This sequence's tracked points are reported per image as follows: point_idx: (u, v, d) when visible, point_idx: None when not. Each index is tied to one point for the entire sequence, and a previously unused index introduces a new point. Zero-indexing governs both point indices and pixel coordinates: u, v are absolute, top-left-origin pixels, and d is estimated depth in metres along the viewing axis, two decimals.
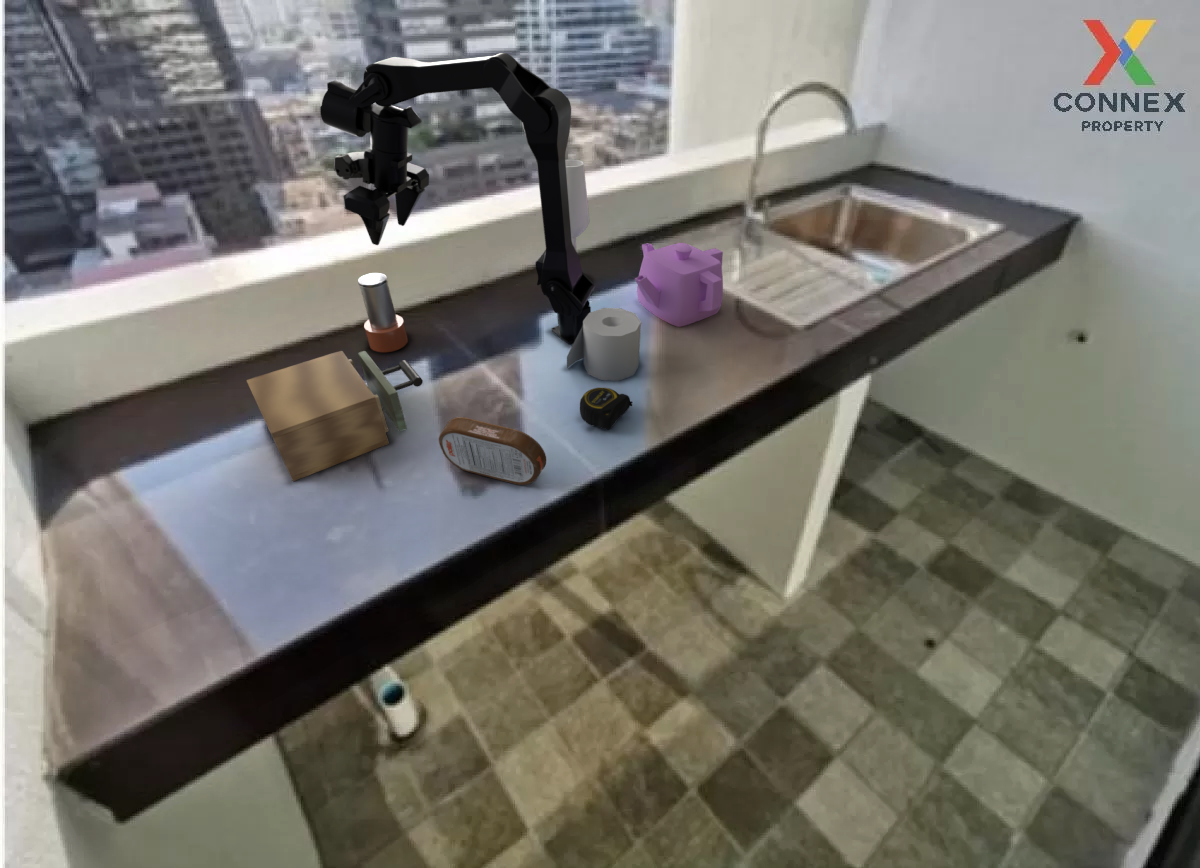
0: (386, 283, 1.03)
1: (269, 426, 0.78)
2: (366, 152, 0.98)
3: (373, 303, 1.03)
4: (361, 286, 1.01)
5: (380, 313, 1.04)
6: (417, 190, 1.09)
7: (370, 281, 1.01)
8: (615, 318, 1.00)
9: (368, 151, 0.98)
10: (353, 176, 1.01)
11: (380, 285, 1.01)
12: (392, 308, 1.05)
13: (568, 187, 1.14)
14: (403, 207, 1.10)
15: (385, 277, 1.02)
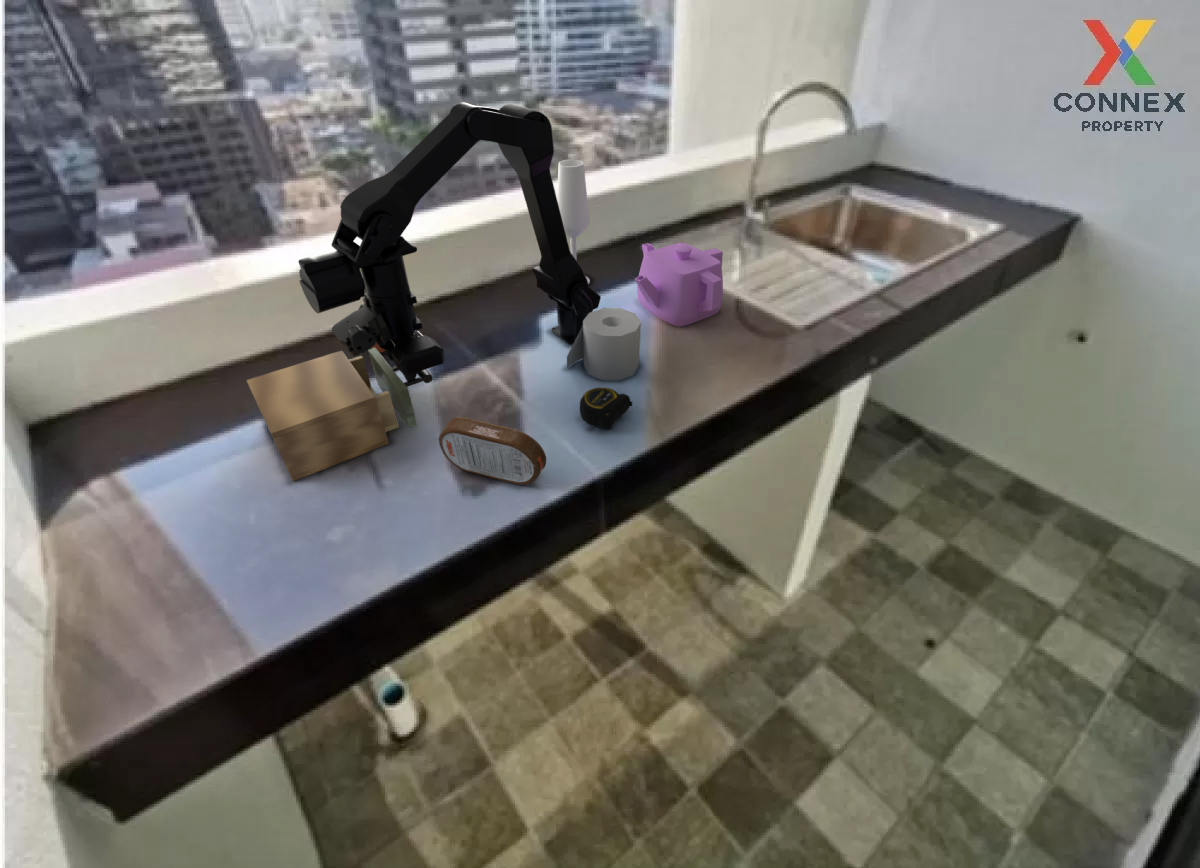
0: None
1: (269, 426, 0.78)
2: (377, 308, 0.82)
3: None
4: None
5: None
6: None
7: None
8: (615, 318, 1.00)
9: (378, 306, 0.82)
10: None
11: None
12: None
13: (568, 187, 1.14)
14: None
15: None
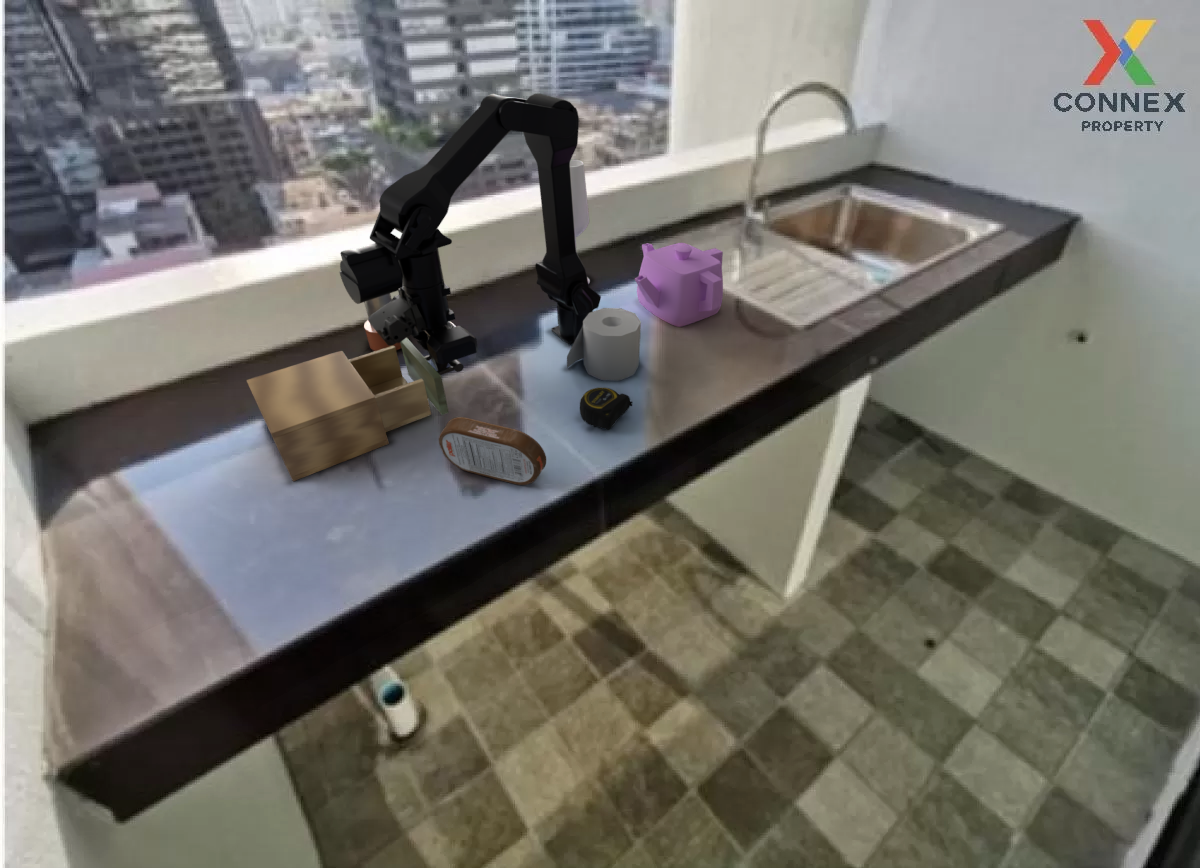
0: None
1: (269, 426, 0.78)
2: (413, 299, 0.84)
3: (373, 303, 1.03)
4: None
5: None
6: None
7: None
8: (615, 318, 1.00)
9: (414, 297, 0.84)
10: None
11: None
12: None
13: None
14: None
15: None
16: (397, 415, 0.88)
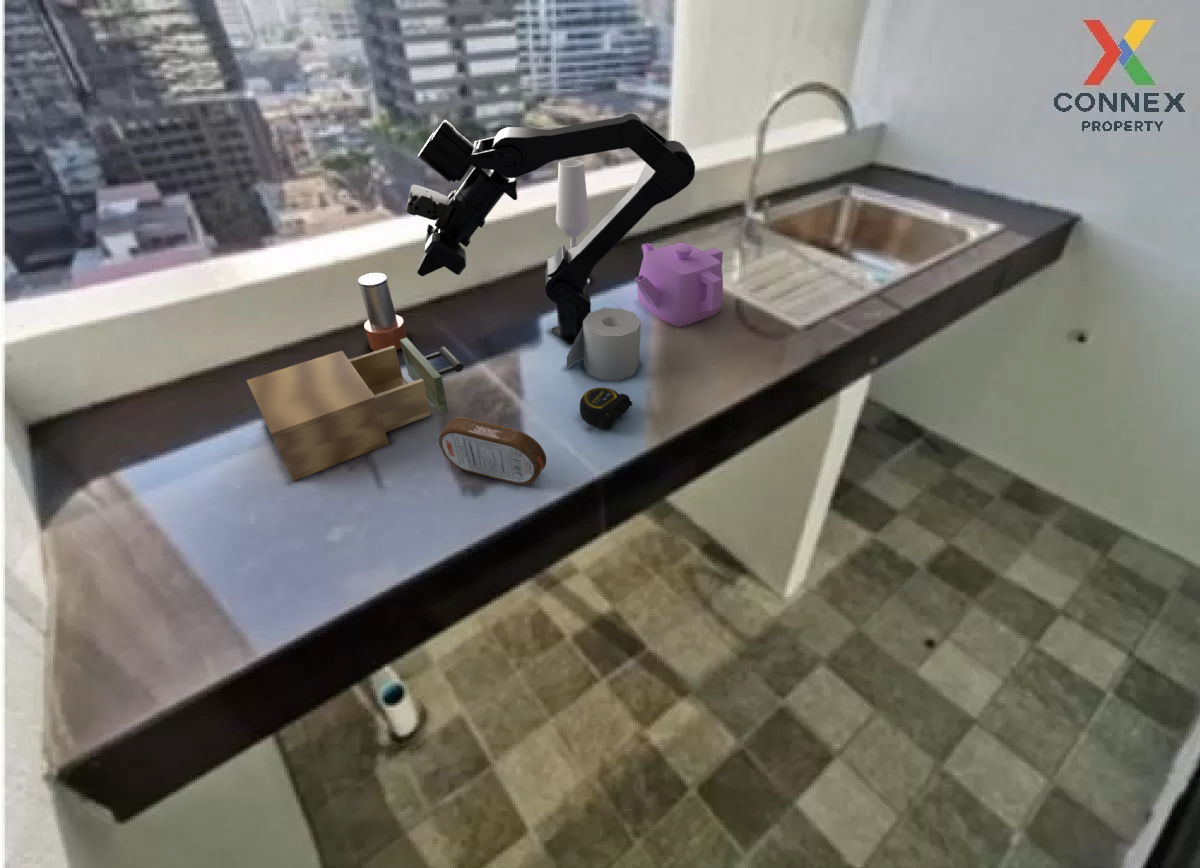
0: (386, 283, 1.03)
1: (269, 426, 0.78)
2: (454, 201, 0.93)
3: (373, 303, 1.03)
4: (361, 286, 1.01)
5: (380, 313, 1.04)
6: None
7: (370, 281, 1.01)
8: (615, 318, 1.00)
9: (456, 201, 0.93)
10: None
11: (380, 285, 1.01)
12: (392, 308, 1.05)
13: (568, 187, 1.14)
14: None
15: (385, 277, 1.02)
16: (397, 415, 0.88)
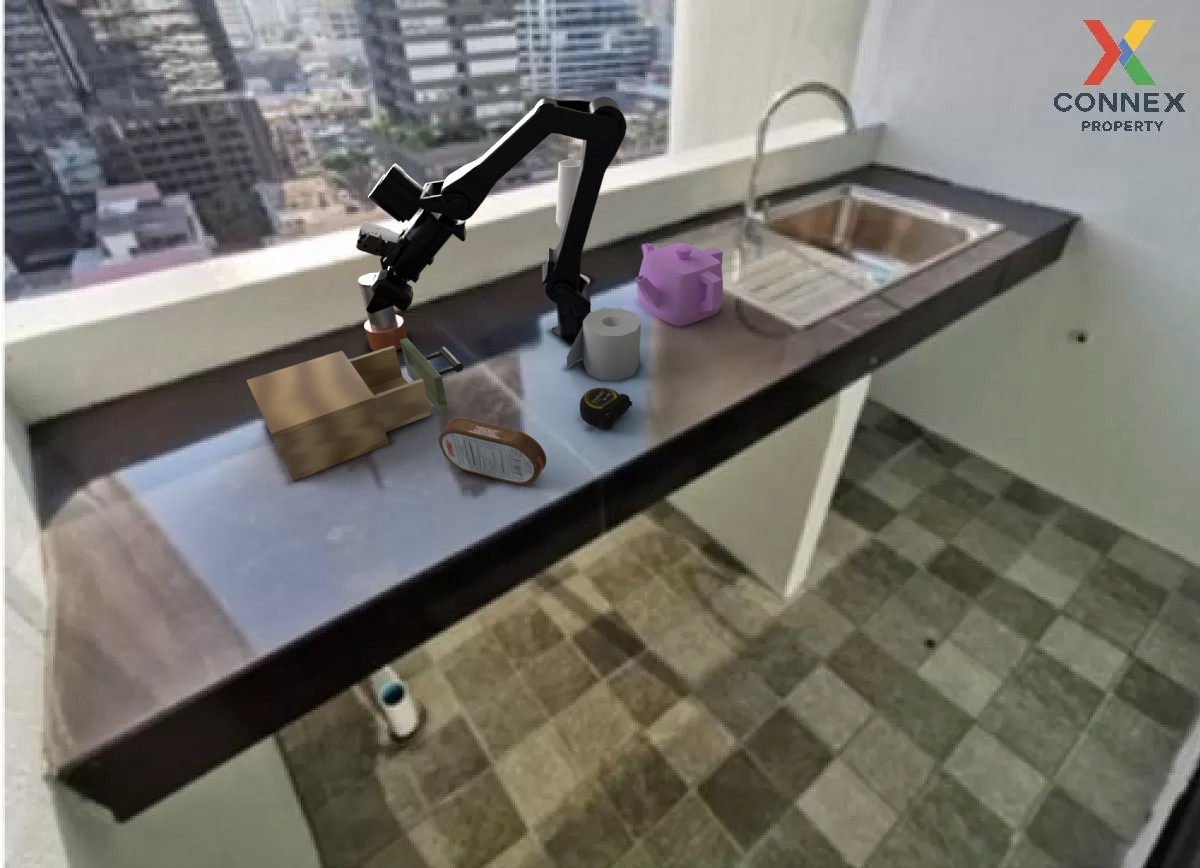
0: None
1: (269, 426, 0.78)
2: (403, 240, 0.96)
3: None
4: (361, 286, 1.01)
5: (380, 313, 1.04)
6: None
7: (370, 281, 1.01)
8: (615, 318, 1.00)
9: (405, 240, 0.96)
10: None
11: None
12: (392, 308, 1.05)
13: (568, 187, 1.14)
14: None
15: None
16: (397, 415, 0.88)
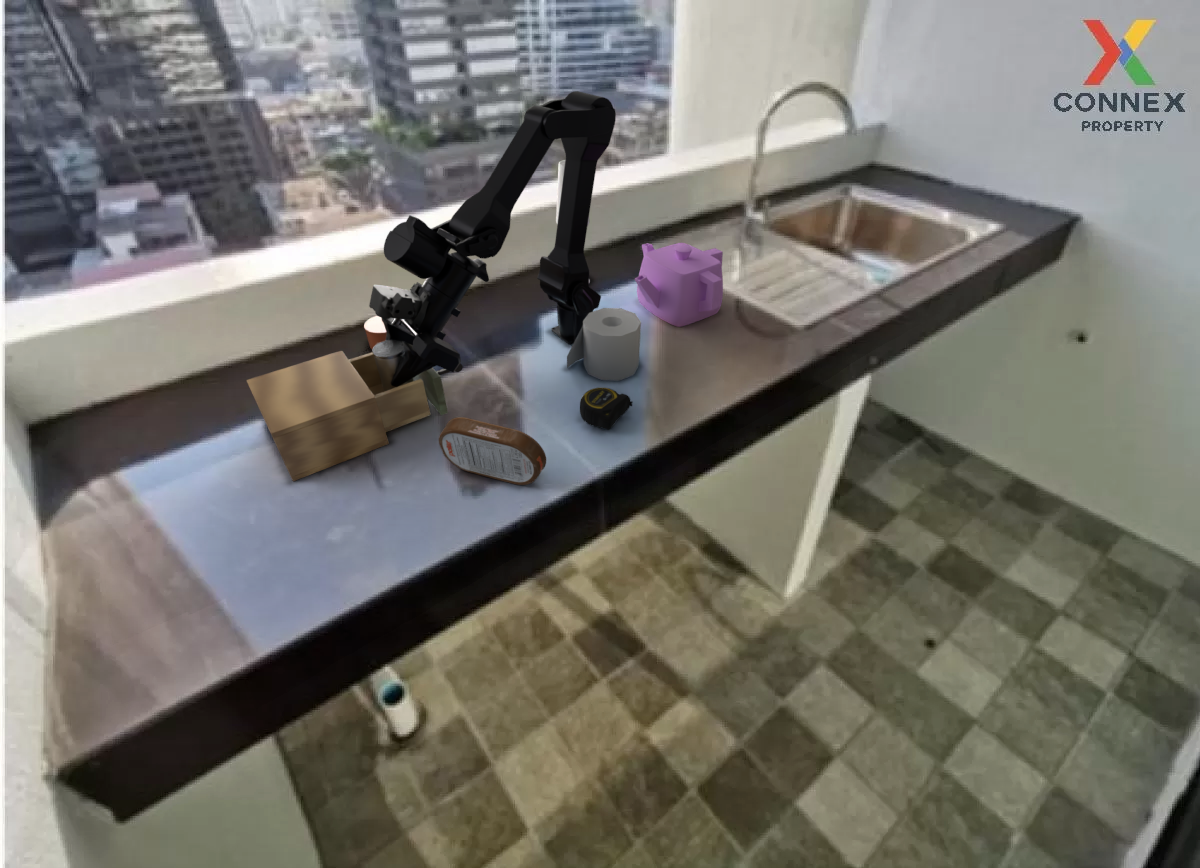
0: None
1: (269, 426, 0.78)
2: (430, 296, 0.85)
3: None
4: (382, 359, 0.87)
5: (405, 383, 0.91)
6: (414, 335, 0.94)
7: (390, 351, 0.88)
8: (615, 318, 1.00)
9: (432, 295, 0.86)
10: None
11: (403, 352, 0.88)
12: None
13: None
14: None
15: (402, 342, 0.90)
16: (396, 415, 0.88)
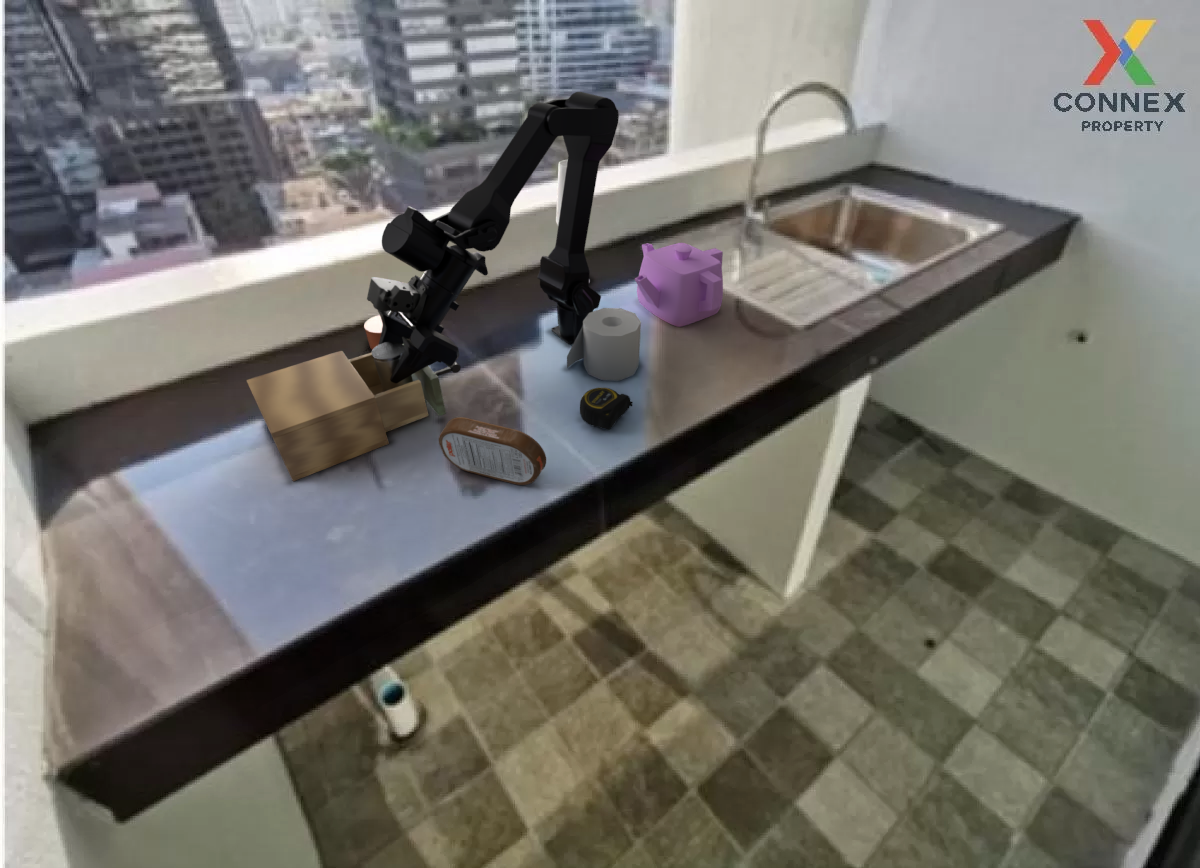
0: None
1: (269, 426, 0.78)
2: (429, 289, 0.85)
3: None
4: (381, 361, 0.87)
5: None
6: None
7: (389, 353, 0.88)
8: (615, 318, 1.00)
9: (430, 288, 0.85)
10: None
11: None
12: (411, 376, 0.93)
13: None
14: None
15: (401, 344, 0.90)
16: (394, 416, 0.88)
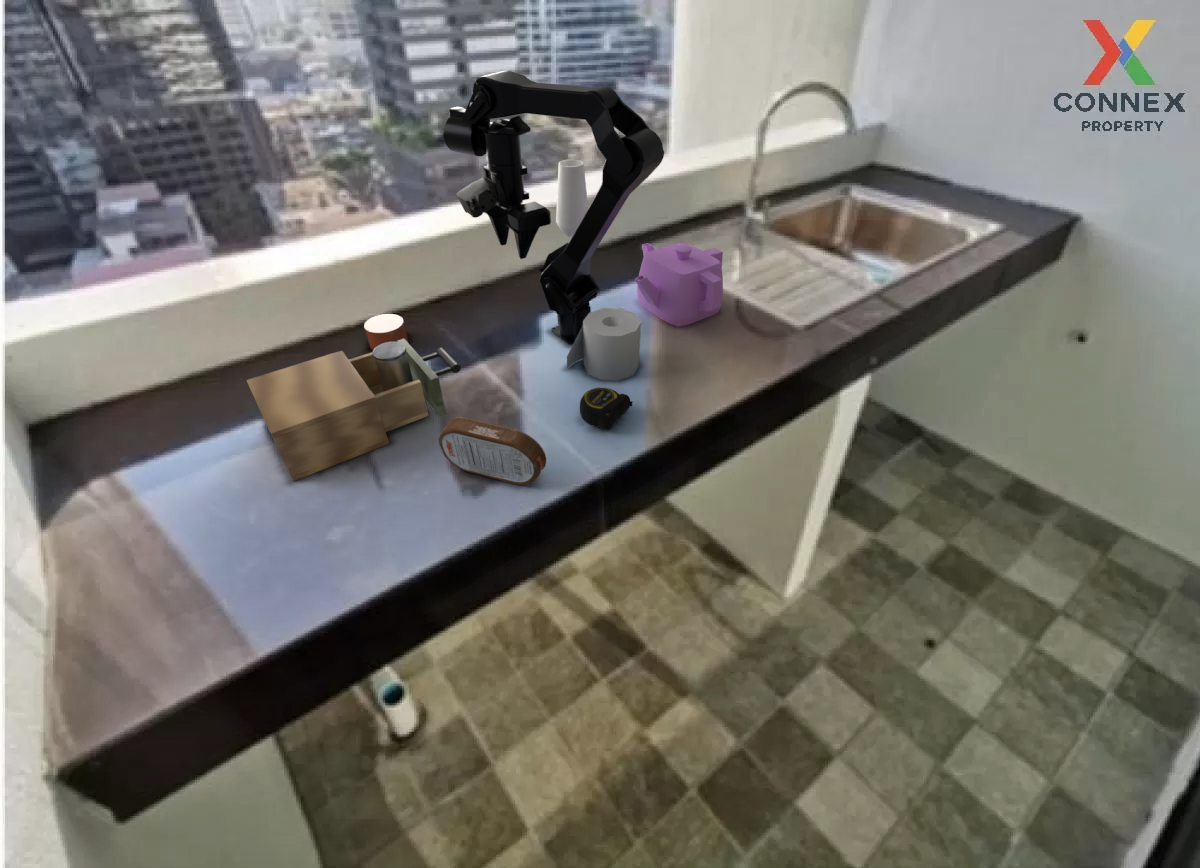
0: None
1: (269, 426, 0.78)
2: (497, 175, 0.98)
3: (398, 376, 0.89)
4: (382, 361, 0.87)
5: None
6: None
7: (390, 353, 0.88)
8: (615, 318, 1.00)
9: (498, 173, 0.98)
10: None
11: (403, 354, 0.89)
12: None
13: (568, 187, 1.14)
14: (502, 225, 1.10)
15: (402, 344, 0.90)
16: (394, 416, 0.88)
